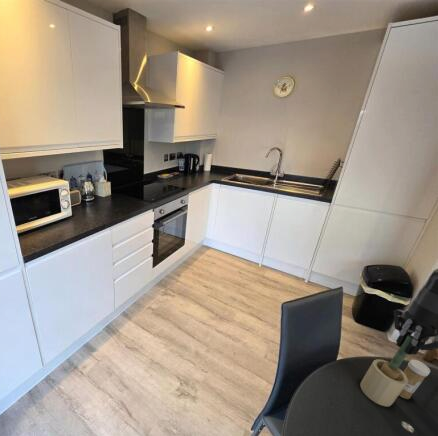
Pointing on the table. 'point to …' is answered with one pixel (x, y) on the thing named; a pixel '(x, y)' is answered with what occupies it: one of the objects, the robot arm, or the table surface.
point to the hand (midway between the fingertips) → (404, 349)
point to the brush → (396, 360)
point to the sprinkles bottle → (414, 377)
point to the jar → (382, 384)
